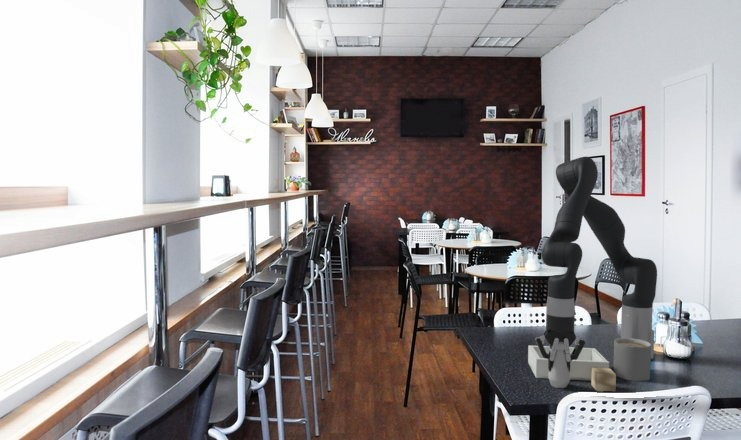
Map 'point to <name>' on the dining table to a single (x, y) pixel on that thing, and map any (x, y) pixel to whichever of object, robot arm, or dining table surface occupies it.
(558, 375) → the salt shaker
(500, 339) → the dining table surface
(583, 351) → the tray
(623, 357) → the coffee mug
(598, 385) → the beech cube
